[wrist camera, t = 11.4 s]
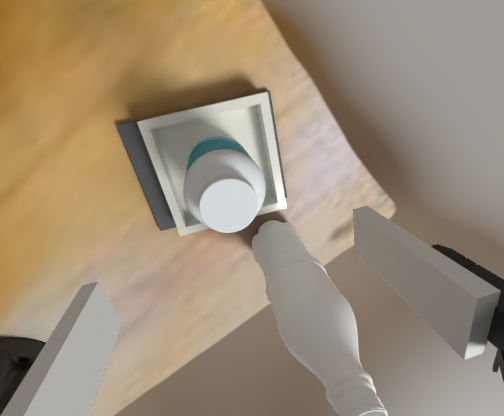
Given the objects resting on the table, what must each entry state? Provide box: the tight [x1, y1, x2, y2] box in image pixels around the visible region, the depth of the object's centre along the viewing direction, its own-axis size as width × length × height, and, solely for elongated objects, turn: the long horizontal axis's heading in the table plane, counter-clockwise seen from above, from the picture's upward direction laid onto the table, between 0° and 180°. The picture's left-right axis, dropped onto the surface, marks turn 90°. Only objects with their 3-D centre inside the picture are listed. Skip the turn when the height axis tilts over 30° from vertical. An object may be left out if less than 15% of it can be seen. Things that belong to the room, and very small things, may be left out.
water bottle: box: [252, 220, 388, 416], centre depth 28 cm, size 7×7×25 cm
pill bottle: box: [183, 135, 266, 233], centre depth 26 cm, size 8×7×14 cm
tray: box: [137, 92, 287, 236], centre depth 31 cm, size 14×14×3 cm
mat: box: [117, 91, 287, 231], centre depth 33 cm, size 18×14×1 cm
